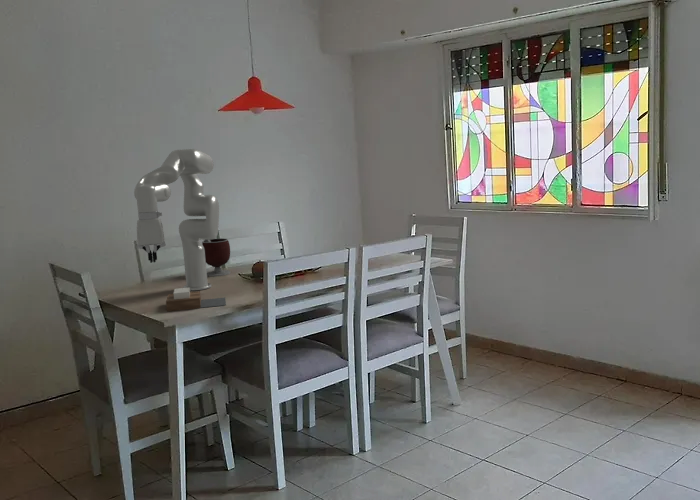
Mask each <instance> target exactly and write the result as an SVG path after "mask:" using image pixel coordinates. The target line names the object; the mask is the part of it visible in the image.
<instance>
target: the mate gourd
mask: <svg viewBox="0 0 700 500" xmlns="http://www.w3.org/2000/svg"><path fill="white" fill-rule="evenodd" d="M201 241H202V242H201V243H202V245H203V247H204V249H205V259H206V265H208V266H211V267H214V269H213V270H212V271H207V277H221V276H226V275H227V276H228V275H230V274H231V270H226V269H225V270H223V269H222V266H224V265H225V264H227V263H228V262H229V260H230V258H231V246H230V245H231V244H230V241H229V239H228V238H220V237H219V238H215V239H212V240H201Z"/></svg>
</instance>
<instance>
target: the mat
mask: <svg viewBox="0 0 700 500" xmlns="http://www.w3.org/2000/svg"><path fill="white" fill-rule="evenodd" d="M224 305H226V306H227V303H226V297H217V298H215V297H214V298H207V299H204V298H203V299H201V308H200V309H204V308H205V309H206V308H214V307H224Z"/></svg>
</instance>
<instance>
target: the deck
mask: <svg viewBox="0 0 700 500" xmlns="http://www.w3.org/2000/svg"><path fill="white" fill-rule="evenodd" d="M201 300H202V295H201V290H196V291H190V298H184V299H174V293H168V294H167V296H166V301H165V305H166V312H174V311H184V310H185V311H186V310H195V309H202V308H201Z"/></svg>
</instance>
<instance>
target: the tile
mask: <svg viewBox="0 0 700 500" xmlns="http://www.w3.org/2000/svg"><path fill="white" fill-rule="evenodd" d="M190 292H191V291H190V287H189V288H183V287H180V288H178V287H177V288H174V290H173V294H174V299H184V298H190Z"/></svg>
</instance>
